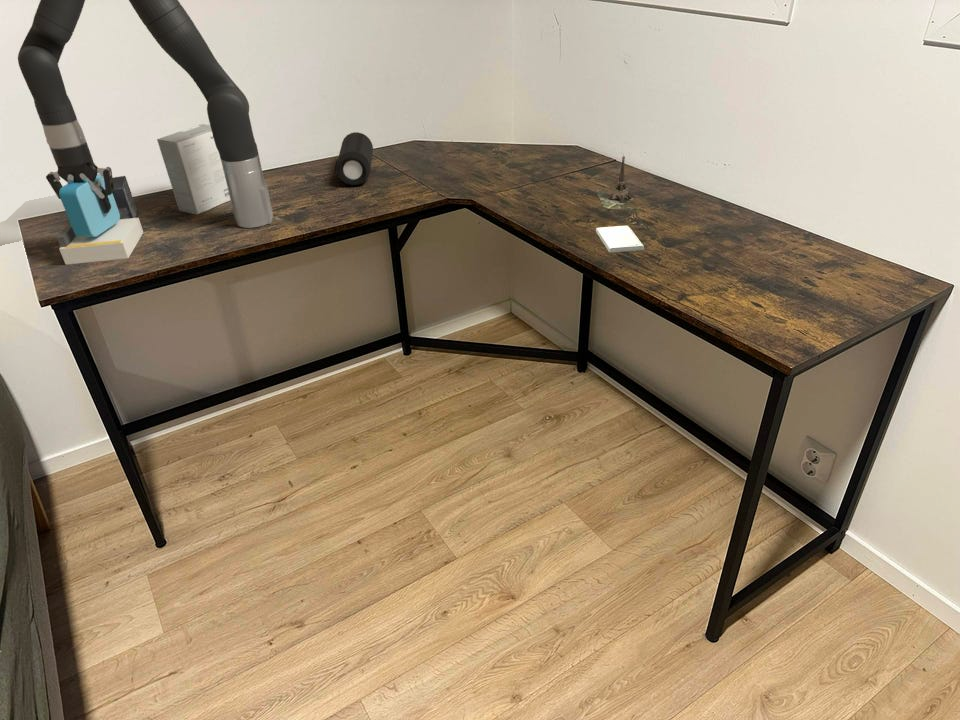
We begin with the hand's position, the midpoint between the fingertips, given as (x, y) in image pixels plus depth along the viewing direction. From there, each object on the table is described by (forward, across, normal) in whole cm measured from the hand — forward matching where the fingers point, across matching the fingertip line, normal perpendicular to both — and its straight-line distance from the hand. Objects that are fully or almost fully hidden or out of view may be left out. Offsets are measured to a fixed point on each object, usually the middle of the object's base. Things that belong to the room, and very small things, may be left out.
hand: (93, 213), depth 160 cm
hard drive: (+10, -123, +27) cm, 126 cm away
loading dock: (+9, 0, 0) cm, 9 cm away
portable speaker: (+9, -63, -40) cm, 75 cm away
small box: (+9, 0, -18) cm, 20 cm away
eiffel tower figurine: (+10, -132, +2) cm, 132 cm away
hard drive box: (+9, -21, -25) cm, 34 cm away
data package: (+4, 0, 0) cm, 4 cm away
